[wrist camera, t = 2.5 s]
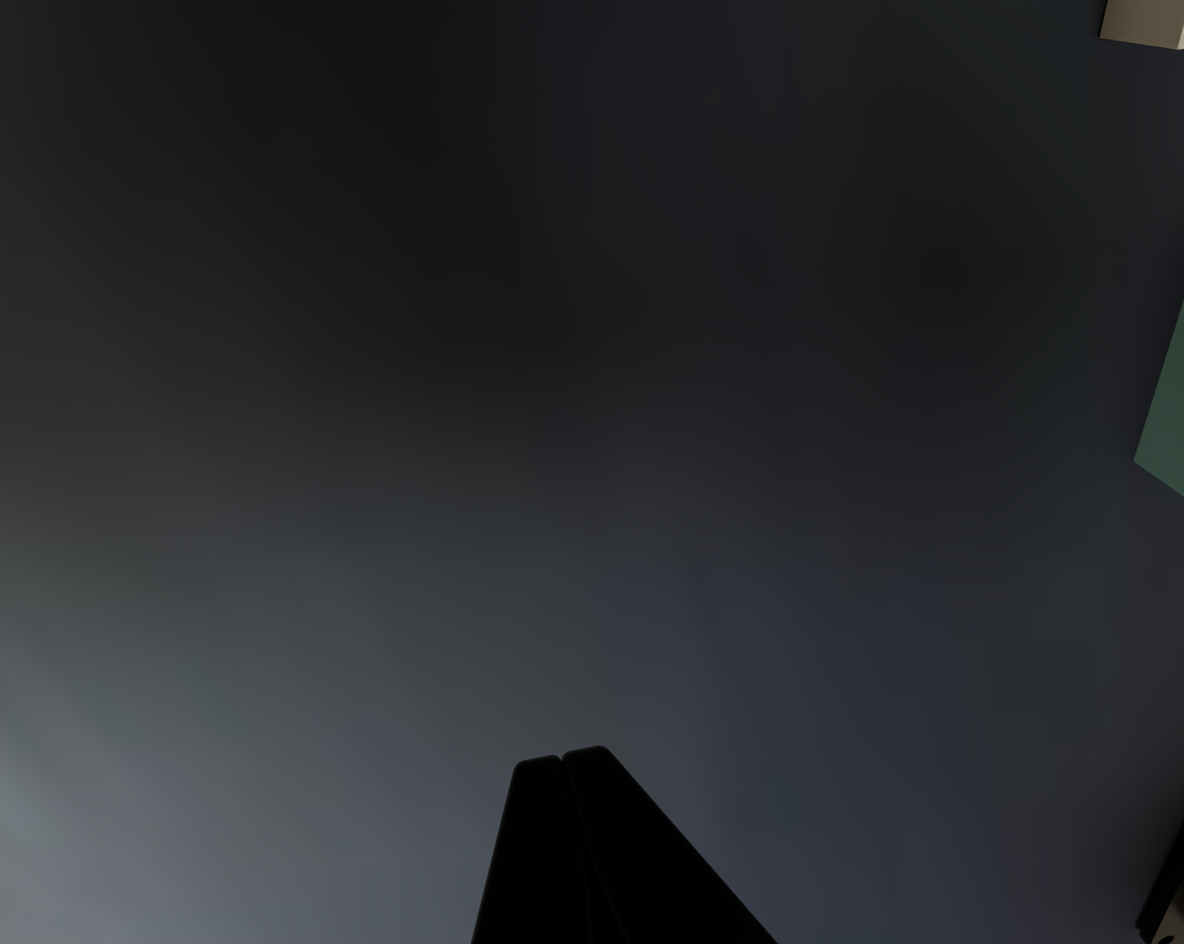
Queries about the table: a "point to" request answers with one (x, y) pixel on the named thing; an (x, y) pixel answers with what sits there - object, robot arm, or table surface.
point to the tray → (1145, 22)
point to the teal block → (1167, 419)
